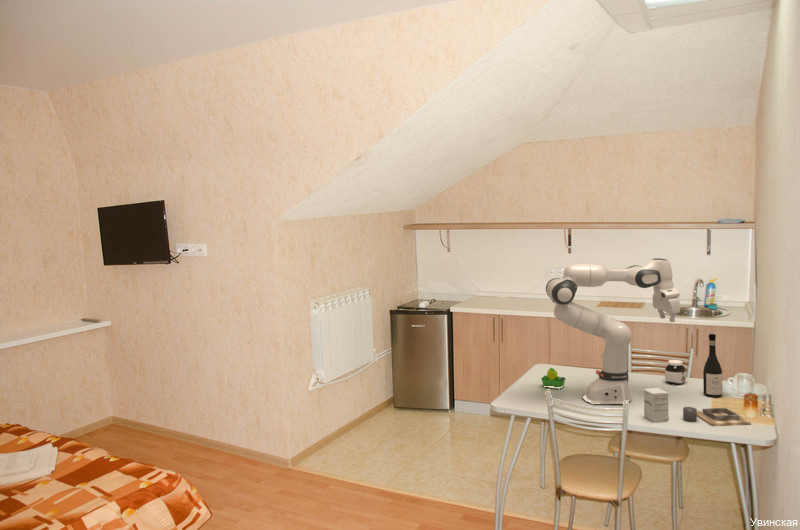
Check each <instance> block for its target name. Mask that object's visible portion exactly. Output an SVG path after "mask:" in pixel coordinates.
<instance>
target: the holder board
mask: <svg viewBox="0 0 800 530" xmlns="http://www.w3.org/2000/svg"><path fill="white" fill-rule="evenodd" d="M697 418H699V420H702V422H705V423H706V424H708V425H709V426H712V427H723V426H725V427H726V426H746V425H748V426H749V425H750V426H751V425H752V422H751V421H749V420H748V419H746V418H744V417H742V416H740V414H738V413H736V412H734V411H733V410H730V409H729V408H727V407H715V408H713V407H712V408H702V410H697Z"/></svg>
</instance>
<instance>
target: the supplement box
mask: <svg viewBox="0 0 800 530" xmlns="http://www.w3.org/2000/svg"><path fill="white" fill-rule="evenodd" d="M643 409H644V410H643V411H644V412H643V417H644V418H647V419H648V420H649V421H651V422H653V423H659V422H660V423H661V422H662V423H663V422H669V392H668V391H666V390H663V389H662V388H660V387H654V388H653V387H652V388H644V389H643Z"/></svg>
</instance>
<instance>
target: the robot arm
mask: <svg viewBox="0 0 800 530" xmlns="http://www.w3.org/2000/svg"><path fill="white" fill-rule="evenodd" d="M607 282H624V283H625V282H626V283H627V284H629V285H632V286H636V287H638V288H642V289H647V288H651V287H652V288H653V293H652V307H653V309H657V311H658V315H659V317H660V319H666V314H665V313H667V314H669V322H670V323H675V322H676V319H675V318H676V316H677V315H676V314H680V312H681V301H680V298H679V297H680V296H681V294H680V291H678V290H677V289H676V287H675V286H674V281H673V270H672V266H671V262H670V261H669V260H668V259H666V258H662V257H661V258H660V257H659V258H658V257H657V258H656V257H655V258H652V259H651V260H650V261H648V263H646V264H644V265H635V264H634V265H630V266H628V267H625V268H613V267H612V268H609V267H605V266H603V265H600V264H594V263H576V264H575V263H574V264H569V265H567V266H566V267H565V268H564V271H563V276H562V277H561V278H559V277H556V278H555V277H554V278H551V279H550V280H548V281H547V283H546V285H545V292H546V294H547V296H548V297H549V298H550V300H551V302H553V303H554V304H555V306H554V308H553V315H554V317H555V318H556V319H557V320H559V321H560V322H562V323H564V324H565V325H567V326H570V327H572V328H574V329H577V330H579V331H582V332H584V333H586V334H590V335H593V336H595V337H597V338H601V339H603V340H605V341H604V343H605V345H604V350H603V352H602V370H598V369H596V370H595V374H596V375H598V377H597V379H595V380H594V381H593V382H591V383H589V384H588V386H587V389H586V394H587V395H586V397H587V399H589V400H591V401H593V402H591V403H600V404H623V401H624V400H629V401H630V402H632V398H631V394H630V390H629V384H628V383H629V371H628V350H629V345H630V342H631V340H632V339H633V338H632V337H633V333H632V331H631V329H630V328H629V326H628V325H627V324H626V323H623V322H622V321H619V320H618V319H615V318H613V317H610V316H608V315H605V314H603V313H600V312H597V311H595V310H592V309H590V308H587V307H585V306H583V305H581V304H577V303H576V302H574V301H573V300H574V298H575V296H576V292H577V291H578V288H579V287H582V288H583V287H587V288H594V287H602V286H604V284H605V283H607ZM664 312H665V313H664Z"/></svg>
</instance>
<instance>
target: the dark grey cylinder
mask: <svg viewBox="0 0 800 530" xmlns="http://www.w3.org/2000/svg"><path fill="white" fill-rule="evenodd" d="M697 411H698V409H697V408H696V407H693V406H684V407H682V416H683V417H682V420H683V421H684V422H686V423H687V422H688V423H696V422H697V421H698V417H697Z"/></svg>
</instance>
